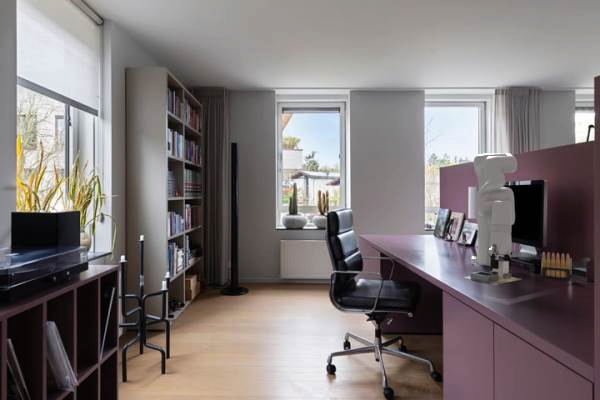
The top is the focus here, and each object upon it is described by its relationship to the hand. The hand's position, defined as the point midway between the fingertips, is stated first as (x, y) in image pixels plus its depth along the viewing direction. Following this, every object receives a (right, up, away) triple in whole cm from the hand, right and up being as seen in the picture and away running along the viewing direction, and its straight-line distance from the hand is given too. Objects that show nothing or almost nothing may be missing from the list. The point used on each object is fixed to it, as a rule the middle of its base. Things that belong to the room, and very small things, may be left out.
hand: (500, 267), depth 146 cm
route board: (-5, -6, -3) cm, 8 cm away
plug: (0, -4, 0) cm, 4 cm away
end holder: (-10, -4, -6) cm, 12 cm away
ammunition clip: (+28, -6, +5) cm, 29 cm away
